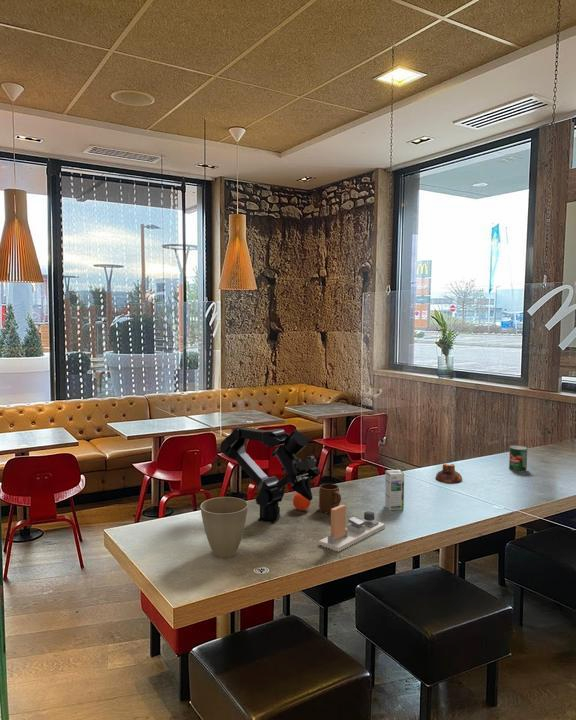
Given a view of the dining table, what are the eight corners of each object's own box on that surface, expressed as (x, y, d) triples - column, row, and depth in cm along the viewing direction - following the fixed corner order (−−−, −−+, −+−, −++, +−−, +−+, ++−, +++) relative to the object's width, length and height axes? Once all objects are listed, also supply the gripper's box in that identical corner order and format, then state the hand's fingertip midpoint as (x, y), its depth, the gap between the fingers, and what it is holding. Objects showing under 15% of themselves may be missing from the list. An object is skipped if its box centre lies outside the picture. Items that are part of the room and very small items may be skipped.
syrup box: (389, 510, 219) (390, 473, 218) (384, 505, 225) (385, 469, 223) (403, 510, 220) (404, 473, 218) (398, 504, 226) (399, 468, 224)
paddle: (330, 540, 186) (330, 509, 185) (341, 535, 191) (342, 504, 190) (334, 542, 185) (334, 510, 184) (345, 536, 190) (345, 505, 189)
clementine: (310, 505, 224) (310, 488, 223) (315, 512, 217) (315, 494, 217) (290, 507, 222) (290, 489, 222) (294, 513, 216) (294, 495, 215)
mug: (348, 515, 214) (348, 491, 213) (330, 518, 210) (331, 494, 209) (332, 505, 224) (332, 482, 223) (315, 508, 221) (315, 484, 220)
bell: (431, 480, 258) (431, 464, 257) (442, 474, 267) (443, 459, 267) (455, 485, 251) (455, 469, 250) (466, 479, 260) (467, 463, 259)
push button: (362, 518, 201) (362, 513, 201) (367, 516, 204) (367, 510, 204) (370, 521, 199) (370, 515, 198) (376, 518, 201) (376, 513, 201)
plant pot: (192, 550, 183) (192, 502, 181) (233, 540, 191) (233, 493, 190) (214, 568, 171) (214, 516, 169) (257, 556, 179) (256, 506, 178)
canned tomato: (526, 468, 276) (527, 446, 275) (526, 472, 269) (527, 450, 268) (509, 466, 280) (510, 444, 279) (508, 470, 273) (509, 448, 271)
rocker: (348, 522, 196) (348, 519, 195) (353, 520, 198) (353, 516, 198) (358, 528, 193) (359, 524, 193) (363, 525, 195) (364, 522, 195)
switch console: (319, 545, 187) (319, 533, 187) (366, 522, 207) (366, 511, 207) (338, 552, 182) (338, 540, 182) (384, 528, 202) (385, 517, 201)
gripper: (286, 452, 190) (309, 493, 184) (318, 445, 204) (341, 483, 198) (266, 470, 195) (288, 510, 189) (299, 461, 210) (321, 498, 204)
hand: (311, 499), depth 195 cm, fingers closed
